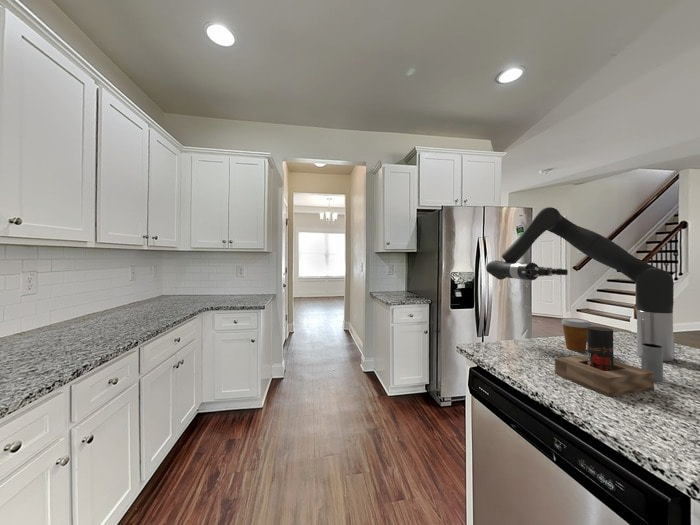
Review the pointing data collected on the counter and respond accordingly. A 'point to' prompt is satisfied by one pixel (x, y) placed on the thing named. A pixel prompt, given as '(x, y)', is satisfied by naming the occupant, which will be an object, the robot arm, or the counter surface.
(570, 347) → the disposable coffee cup
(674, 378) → the counter surface
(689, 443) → the counter surface
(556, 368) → the socket block
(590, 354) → the deodorant
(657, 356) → the gray cylindrical tube
